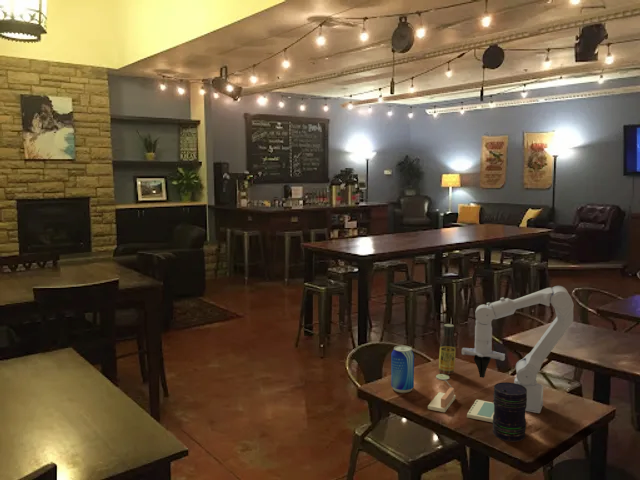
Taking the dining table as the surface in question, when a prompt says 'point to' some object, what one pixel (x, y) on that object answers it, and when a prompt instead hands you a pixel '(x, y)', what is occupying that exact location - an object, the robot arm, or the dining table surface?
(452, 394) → the cream and brown block
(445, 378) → the dial probe thermometer
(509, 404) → the storage jar
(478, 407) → the cream teal notepad
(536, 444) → the dining table surface
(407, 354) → the beer can
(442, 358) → the sauce bottle
